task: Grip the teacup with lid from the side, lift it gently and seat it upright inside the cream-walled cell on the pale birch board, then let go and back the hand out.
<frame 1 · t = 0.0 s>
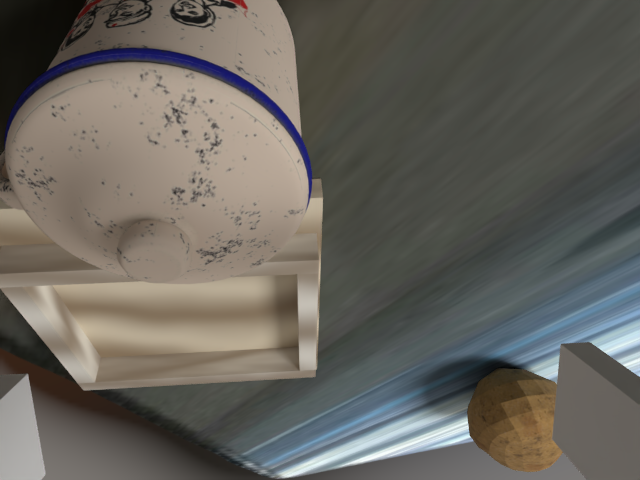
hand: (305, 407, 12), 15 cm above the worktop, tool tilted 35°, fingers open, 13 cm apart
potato: (504, 373, 48), on the worktop
cradle board: (188, 291, 34), on the worktop
teacup with lid: (164, 60, 21), on the worktop
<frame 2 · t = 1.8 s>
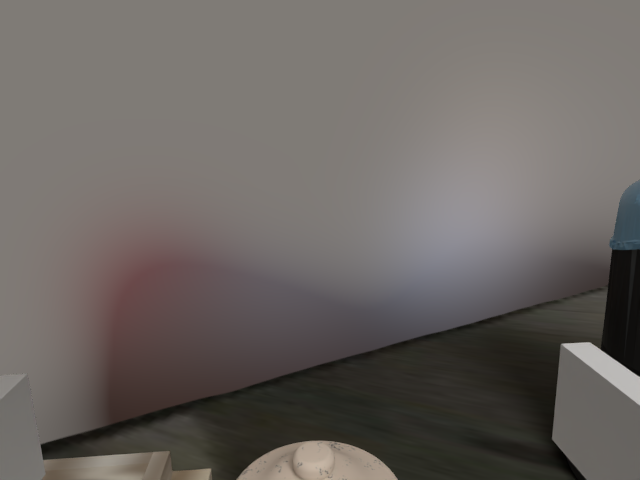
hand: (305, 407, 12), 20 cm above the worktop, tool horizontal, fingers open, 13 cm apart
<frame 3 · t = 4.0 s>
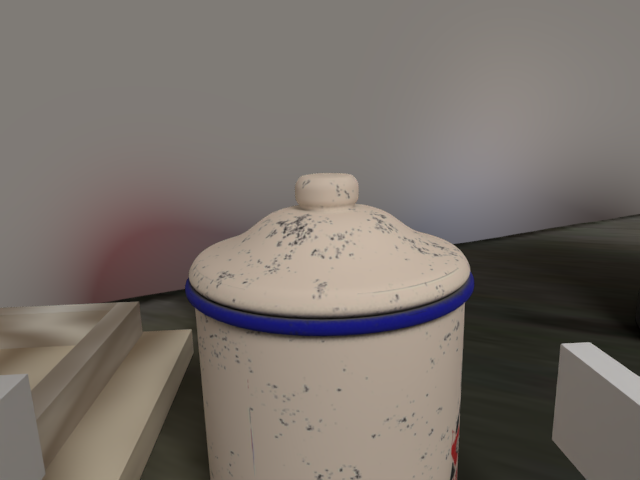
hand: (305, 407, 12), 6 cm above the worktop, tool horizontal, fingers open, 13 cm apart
teacup with lid: (320, 473, 19), on the worktop
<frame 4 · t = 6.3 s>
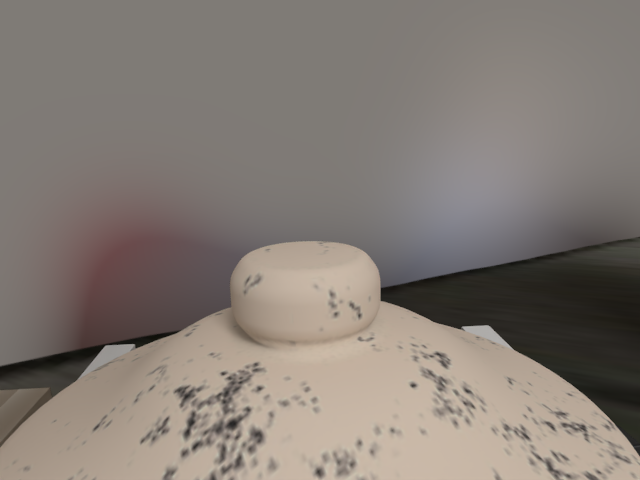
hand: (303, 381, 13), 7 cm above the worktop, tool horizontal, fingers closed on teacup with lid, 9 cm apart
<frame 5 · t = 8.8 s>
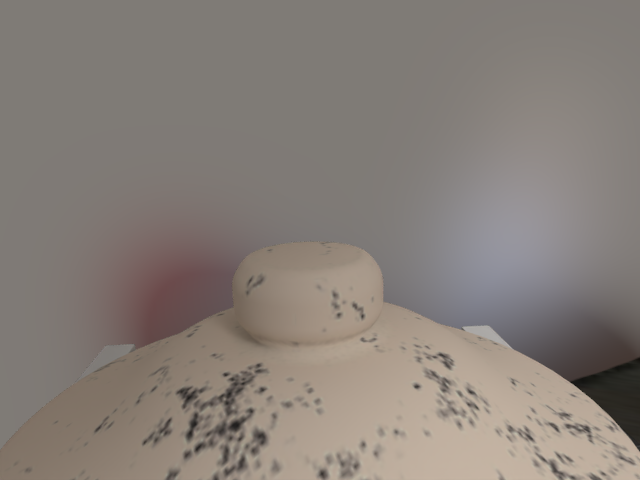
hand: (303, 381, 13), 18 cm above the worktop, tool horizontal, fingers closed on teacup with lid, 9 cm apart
when the fingers open (9 cm above the worktop, at t = 11.4 s): teacup with lid drops 1 cm, resting on cradle board.
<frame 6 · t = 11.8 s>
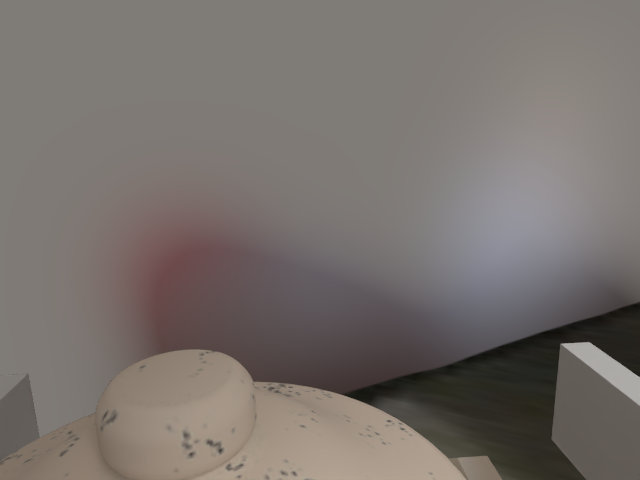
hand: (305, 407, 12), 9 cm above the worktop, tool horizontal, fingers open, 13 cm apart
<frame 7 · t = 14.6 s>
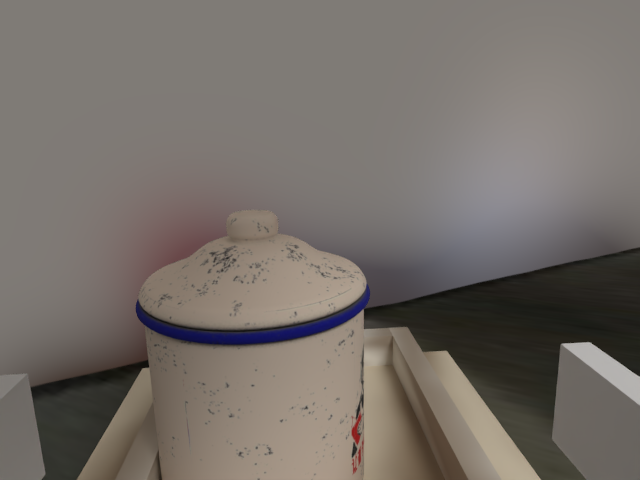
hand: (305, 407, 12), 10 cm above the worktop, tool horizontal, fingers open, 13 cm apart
cradle board: (303, 473, 23), on the worktop
teacup with lid: (257, 457, 23), point 1 cm above the worktop, touching cradle board
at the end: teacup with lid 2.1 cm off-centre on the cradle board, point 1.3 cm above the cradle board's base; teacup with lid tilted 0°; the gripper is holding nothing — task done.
